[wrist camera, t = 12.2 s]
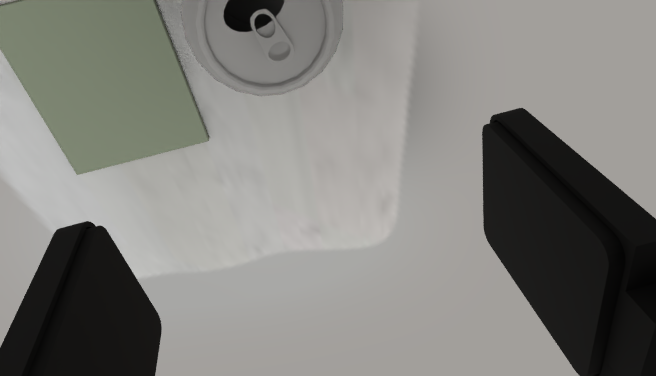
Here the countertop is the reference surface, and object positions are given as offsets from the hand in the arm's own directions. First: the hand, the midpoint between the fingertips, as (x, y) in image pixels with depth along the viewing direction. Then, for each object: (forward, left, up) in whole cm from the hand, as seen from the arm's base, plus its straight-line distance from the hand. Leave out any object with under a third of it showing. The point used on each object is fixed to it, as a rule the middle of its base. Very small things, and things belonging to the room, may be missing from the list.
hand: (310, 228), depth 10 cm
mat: (+4, -11, -26) cm, 29 cm away
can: (0, 0, -26) cm, 26 cm away
